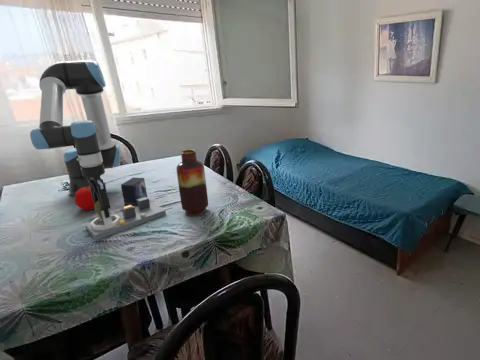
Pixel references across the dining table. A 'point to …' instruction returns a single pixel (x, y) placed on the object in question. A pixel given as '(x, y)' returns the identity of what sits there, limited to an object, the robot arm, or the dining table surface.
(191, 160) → the vase
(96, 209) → the light bulb
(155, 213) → the breaker panel
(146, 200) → the plain toggle
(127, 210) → the tagged toggle
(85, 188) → the tomato
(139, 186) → the small box
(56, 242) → the dining table surface
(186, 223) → the dining table surface
